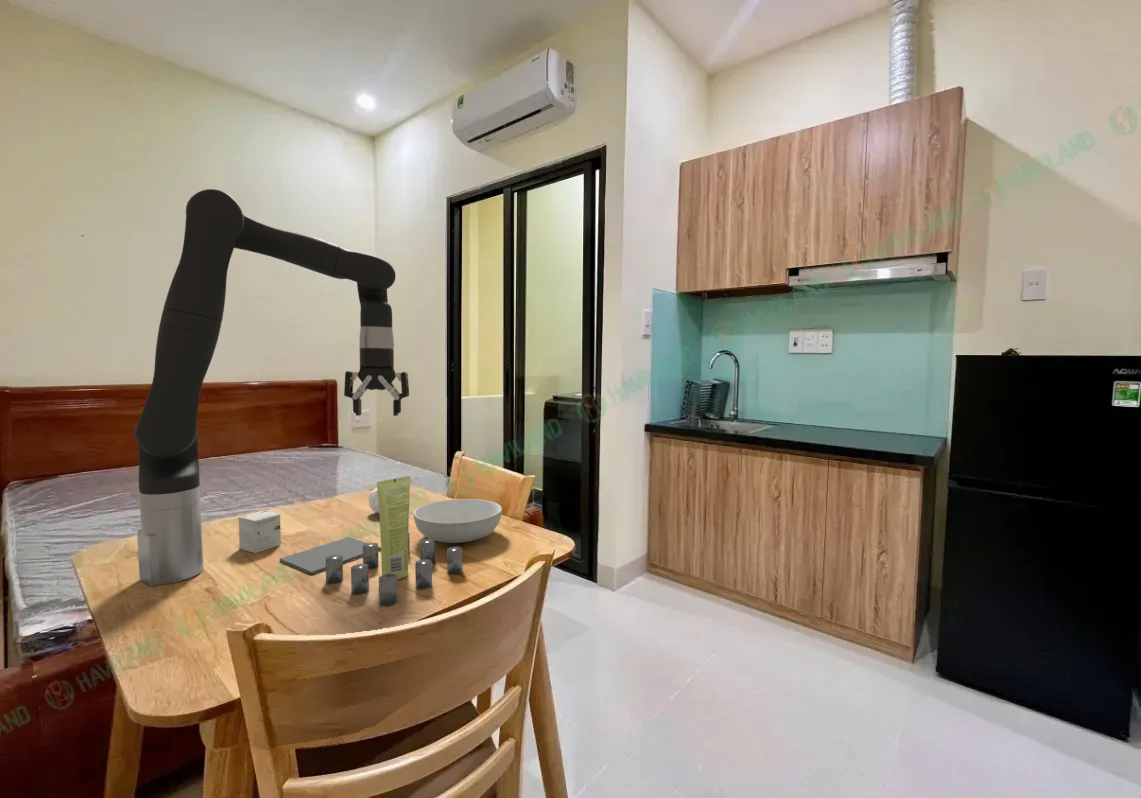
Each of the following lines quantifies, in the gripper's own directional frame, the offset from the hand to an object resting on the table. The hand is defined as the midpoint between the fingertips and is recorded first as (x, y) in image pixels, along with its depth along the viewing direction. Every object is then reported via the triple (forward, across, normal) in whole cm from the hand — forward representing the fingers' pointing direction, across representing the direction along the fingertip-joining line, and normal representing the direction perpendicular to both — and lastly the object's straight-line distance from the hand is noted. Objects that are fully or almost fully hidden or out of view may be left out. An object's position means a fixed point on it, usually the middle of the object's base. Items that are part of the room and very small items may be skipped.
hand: (377, 415), depth 121 cm
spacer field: (+29, +9, -24) cm, 39 cm away
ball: (+30, -4, +19) cm, 35 cm away
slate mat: (+29, -7, -12) cm, 32 cm away
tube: (+30, +9, -24) cm, 39 cm away
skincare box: (+30, -25, -5) cm, 39 cm away
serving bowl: (+30, +19, -2) cm, 35 cm away
